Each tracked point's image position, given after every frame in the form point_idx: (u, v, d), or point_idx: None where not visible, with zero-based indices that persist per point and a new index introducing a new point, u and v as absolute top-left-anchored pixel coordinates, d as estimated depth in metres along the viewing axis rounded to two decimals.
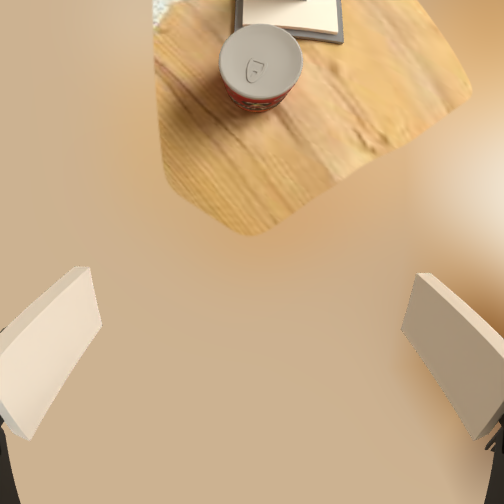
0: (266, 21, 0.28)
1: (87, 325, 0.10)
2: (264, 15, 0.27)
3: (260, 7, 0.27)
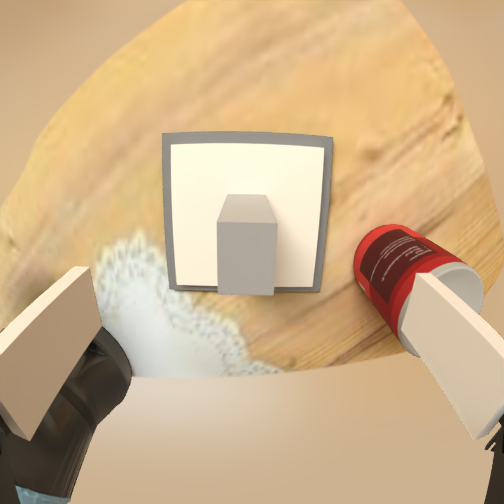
0: (310, 256, 0.25)
1: (87, 325, 0.10)
2: (298, 258, 0.25)
3: (283, 264, 0.25)
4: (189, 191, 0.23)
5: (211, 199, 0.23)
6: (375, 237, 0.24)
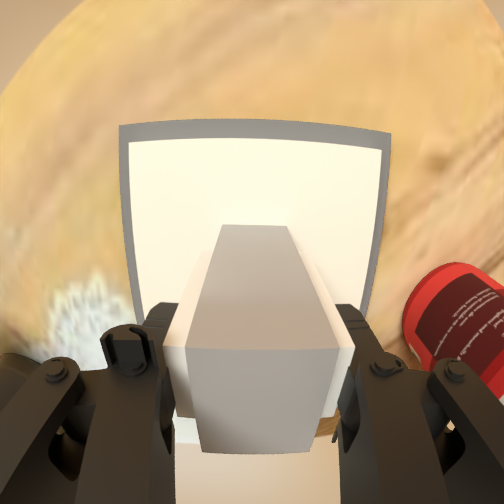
0: None
1: None
2: None
3: None
4: (160, 220, 0.14)
5: (196, 232, 0.14)
6: (440, 286, 0.15)
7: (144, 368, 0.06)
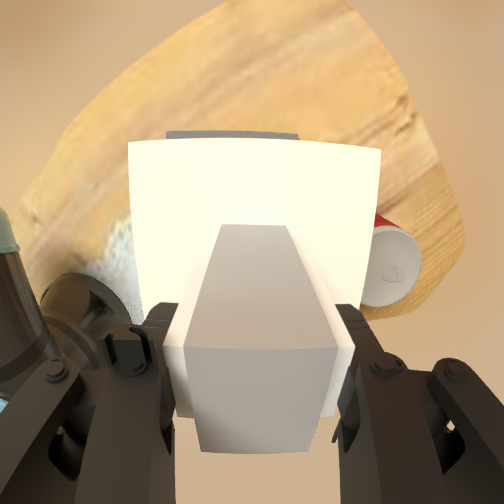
0: None
1: None
2: None
3: None
4: (159, 219, 0.14)
5: (195, 232, 0.14)
6: None
7: (144, 368, 0.06)
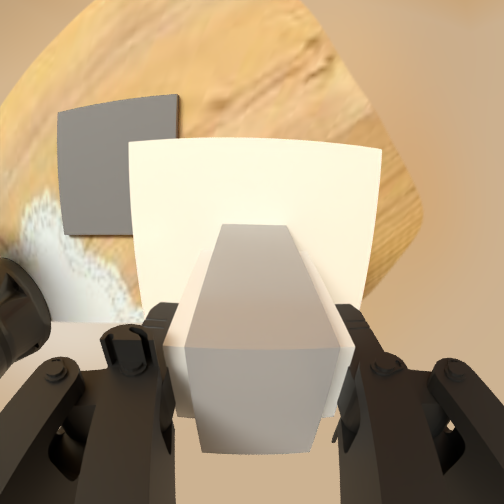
0: None
1: None
2: None
3: None
4: (159, 219, 0.14)
5: (195, 232, 0.14)
6: None
7: (144, 368, 0.06)
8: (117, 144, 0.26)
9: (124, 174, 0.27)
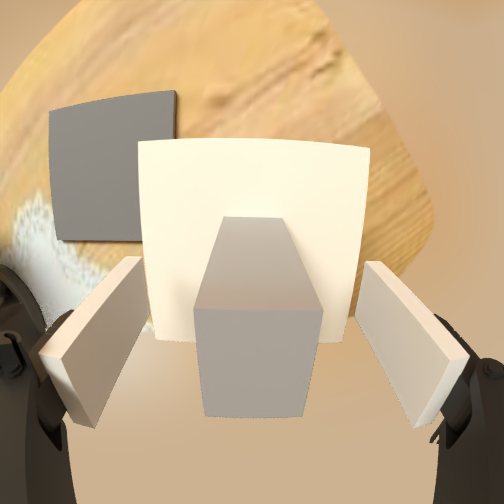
0: (342, 304, 0.17)
1: (140, 312, 0.11)
2: (326, 308, 0.17)
3: None
4: (166, 212, 0.15)
5: (199, 224, 0.15)
6: None
7: (20, 369, 0.05)
8: (111, 145, 0.24)
9: (118, 176, 0.25)
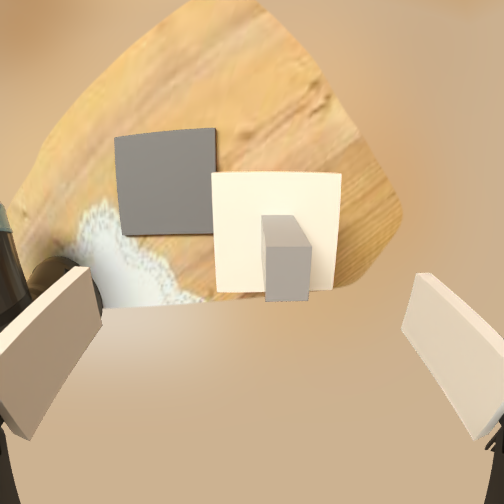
0: (330, 264, 0.29)
1: (87, 325, 0.10)
2: (320, 267, 0.29)
3: None
4: (228, 213, 0.27)
5: (247, 219, 0.28)
6: None
7: None
8: (169, 165, 0.36)
9: (175, 188, 0.37)
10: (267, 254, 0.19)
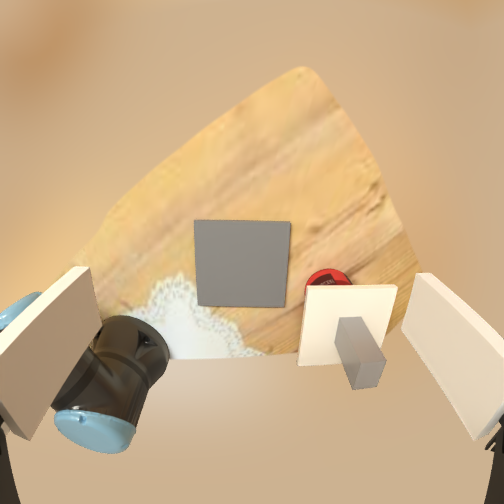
0: (378, 345, 0.37)
1: (87, 325, 0.10)
2: None
3: None
4: (316, 316, 0.35)
5: (329, 320, 0.35)
6: (315, 278, 0.44)
7: None
8: (247, 252, 0.44)
9: (251, 271, 0.45)
10: (360, 367, 0.27)
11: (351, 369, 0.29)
